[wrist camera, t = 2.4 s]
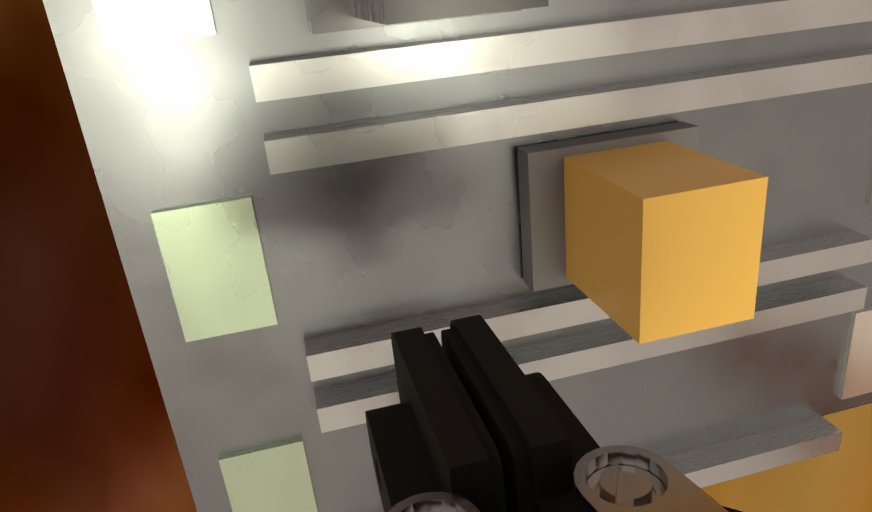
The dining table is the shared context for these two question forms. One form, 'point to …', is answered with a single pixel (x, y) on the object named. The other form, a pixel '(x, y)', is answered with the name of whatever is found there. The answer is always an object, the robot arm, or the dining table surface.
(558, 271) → the block
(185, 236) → the breaker board
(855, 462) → the dining table surface
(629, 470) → the robot arm
